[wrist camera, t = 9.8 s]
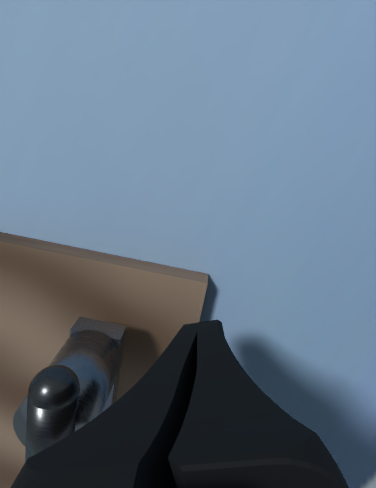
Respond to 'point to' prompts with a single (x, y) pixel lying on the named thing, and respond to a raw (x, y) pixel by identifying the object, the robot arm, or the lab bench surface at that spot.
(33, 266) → the crank board
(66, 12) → the lab bench surface
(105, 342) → the crank
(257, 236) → the lab bench surface
